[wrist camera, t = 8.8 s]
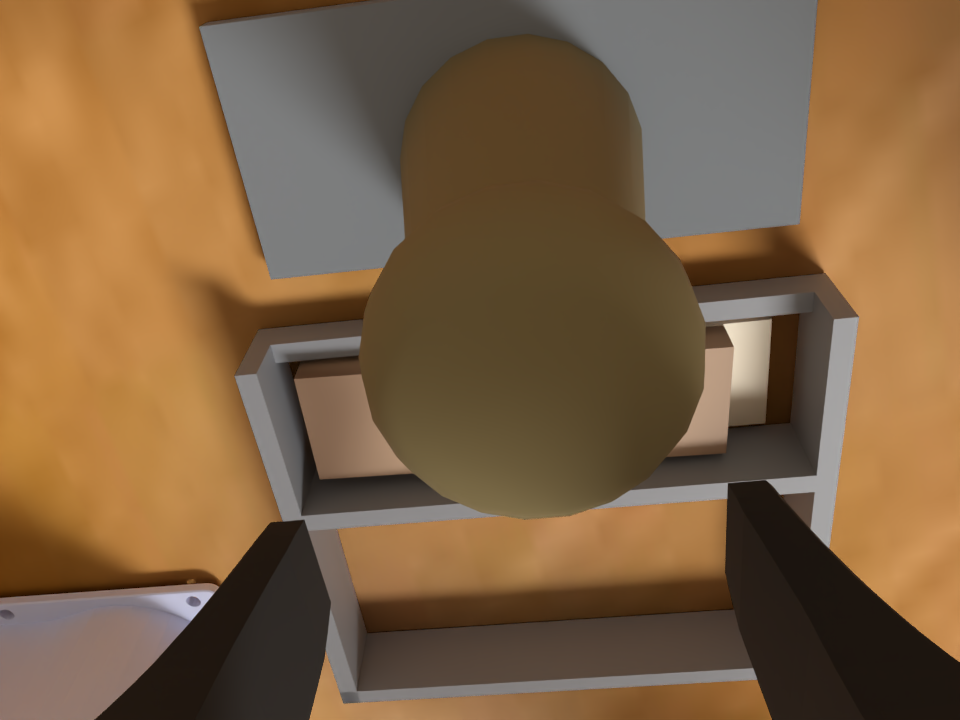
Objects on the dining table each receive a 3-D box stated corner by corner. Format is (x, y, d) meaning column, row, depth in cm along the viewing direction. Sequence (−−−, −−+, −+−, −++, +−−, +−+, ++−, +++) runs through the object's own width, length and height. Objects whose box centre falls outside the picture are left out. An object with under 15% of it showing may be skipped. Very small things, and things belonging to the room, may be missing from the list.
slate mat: (276, 270, 23) (271, 279, 22) (206, 22, 20) (199, 26, 19) (792, 215, 22) (799, 224, 21) (813, -59, 18) (822, -57, 18)
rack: (354, 644, 31) (343, 703, 29) (258, 329, 24) (234, 375, 22) (790, 616, 30) (812, 676, 27) (825, 273, 22) (858, 317, 20)
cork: (364, 77, 19) (233, 281, 10) (616, -1, 18) (730, 148, 9) (443, 296, 22) (398, 611, 13) (663, 239, 21) (785, 538, 12)
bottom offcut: (348, 438, 27) (342, 461, 26) (323, 344, 25) (315, 365, 24) (754, 400, 26) (765, 423, 25) (760, 298, 24) (771, 319, 23)
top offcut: (326, 454, 26) (319, 479, 25) (302, 356, 24) (293, 379, 23) (716, 428, 25) (726, 453, 24) (723, 324, 23) (734, 347, 22)
